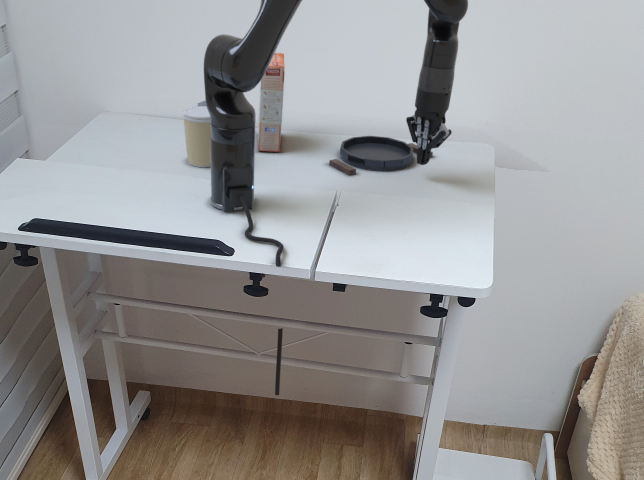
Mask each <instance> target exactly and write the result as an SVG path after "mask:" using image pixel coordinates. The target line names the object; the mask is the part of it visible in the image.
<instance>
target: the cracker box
mask: <svg viewBox="0 0 644 480" xmlns="http://www.w3.org/2000/svg"><path fill="white" fill-rule="evenodd" d="M285 68H286V67H285V53H282V52H275V53H274V55H273V58H272V60H271V62H270V64H269V66H268V68H267V70H266V72H265V74H264V76H263V78H262V79H261V81H260V82H259V102H258V103H259V104H258V105H259V107H258V134H257V135H258V136H257V137H258V138H257V139H258V140H257V143H258V144H257V145H258V148H257V149H258V152H267V153H268V152H269V153H270V152H272V153H280V152H281V138H282V126H283V125H282V124H283V123H282V122H283V109H284V91H285V90H284V89H285V70H286V69H285Z"/></svg>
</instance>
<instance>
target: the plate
mask: <svg viewBox="0 0 644 480" xmlns="http://www.w3.org/2000/svg"><path fill="white" fill-rule="evenodd" d="M408 144H409V143H407V142H405V141H403V140H399V139H396V138H392V137H387V136H376V135H364V136H361V135H360V136H352V137H350V138H347V139H345V140H342V141H341V145H340V148H339V157H340V160H341V161H342V162H343V163H345V164H347V165H349V166H351V167H353V168H356V169H357V168H358V169H361V170H367V171H375V172H391V171H398V170H402V169H405V168H407V167H409V166H410V165H411V164H412V163H413V162H412V161H413V157H414V152H413V147H411V146H410V145H408Z"/></svg>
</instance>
